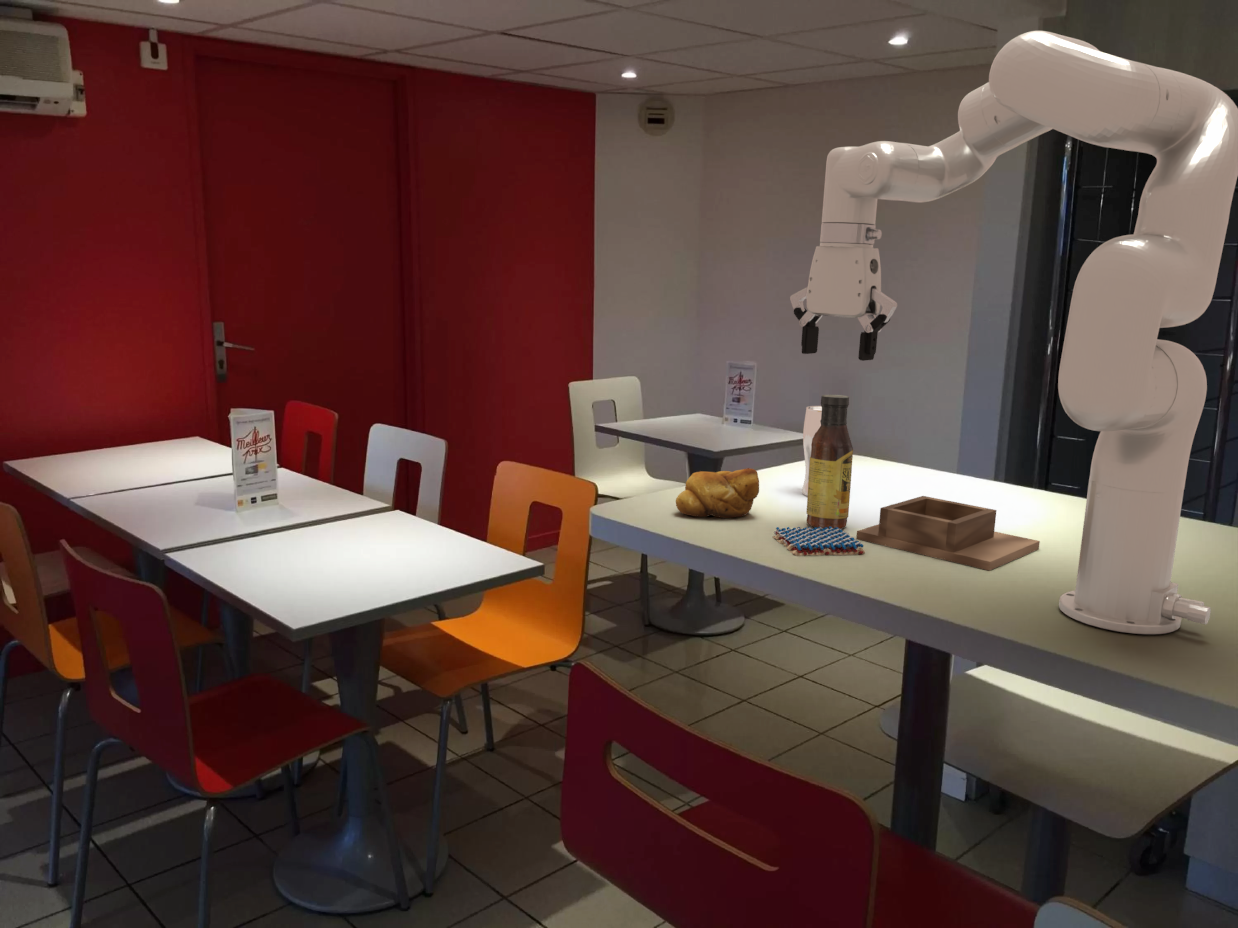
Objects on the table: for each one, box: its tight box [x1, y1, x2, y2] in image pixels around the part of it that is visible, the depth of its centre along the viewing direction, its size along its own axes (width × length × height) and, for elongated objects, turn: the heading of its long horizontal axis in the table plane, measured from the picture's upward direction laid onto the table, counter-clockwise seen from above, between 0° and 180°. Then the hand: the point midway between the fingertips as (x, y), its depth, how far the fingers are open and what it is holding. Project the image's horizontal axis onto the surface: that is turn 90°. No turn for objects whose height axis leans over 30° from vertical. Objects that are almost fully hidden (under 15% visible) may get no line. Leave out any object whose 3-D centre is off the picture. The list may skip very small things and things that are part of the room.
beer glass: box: [801, 405, 822, 497], centre depth 173 cm, size 7×7×15 cm
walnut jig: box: [855, 495, 1041, 571], centre depth 144 cm, size 20×16×5 cm
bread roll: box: [675, 467, 760, 519], centre depth 158 cm, size 13×10×8 cm
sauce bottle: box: [806, 394, 854, 530], centre depth 151 cm, size 7×6×20 cm
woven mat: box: [772, 526, 866, 556], centre depth 142 cm, size 10×11×2 cm
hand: (837, 356), depth 148 cm, fingers open, 9 cm apart
